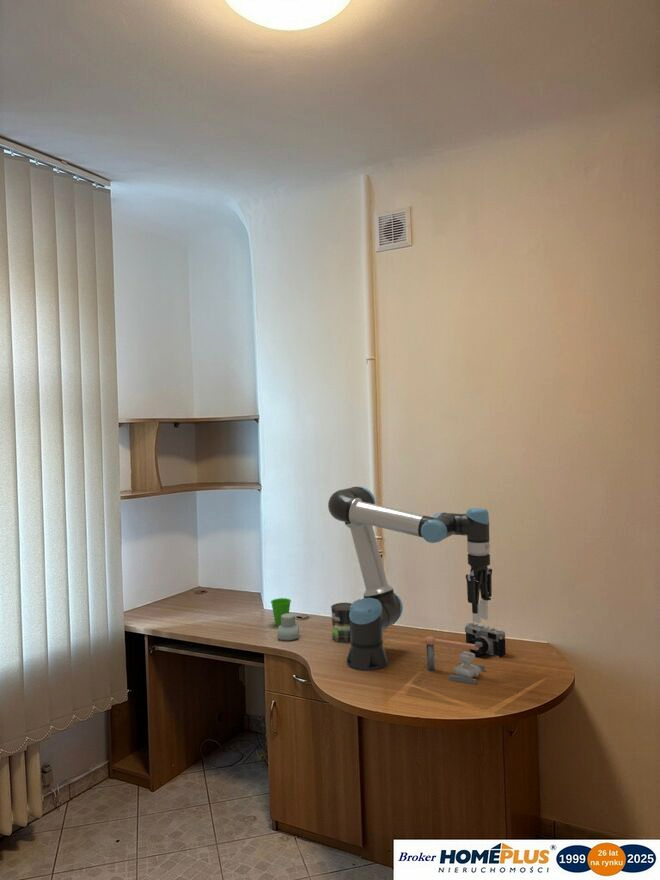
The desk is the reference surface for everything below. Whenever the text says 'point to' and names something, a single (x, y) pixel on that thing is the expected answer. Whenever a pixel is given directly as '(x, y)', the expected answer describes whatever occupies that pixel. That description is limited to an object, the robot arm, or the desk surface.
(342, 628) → the coffee can
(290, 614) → the air freshener
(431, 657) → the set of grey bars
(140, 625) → the desk surface
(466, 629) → the camera
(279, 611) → the cup
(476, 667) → the stamp
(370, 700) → the desk surface
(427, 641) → the ball-knob lever
